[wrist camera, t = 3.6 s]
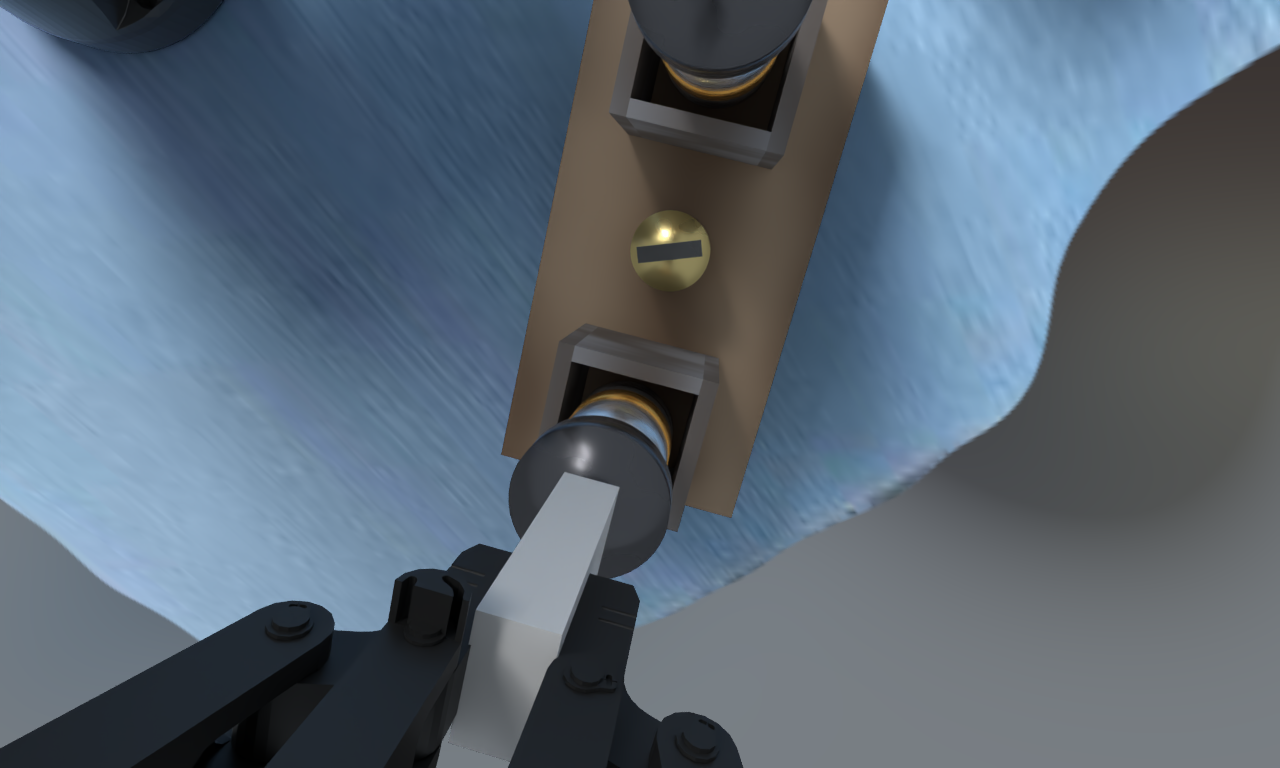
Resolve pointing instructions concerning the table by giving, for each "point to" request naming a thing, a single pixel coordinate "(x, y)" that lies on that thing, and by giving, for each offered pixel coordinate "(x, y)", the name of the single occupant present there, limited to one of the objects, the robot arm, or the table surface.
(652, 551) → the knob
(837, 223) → the table surface
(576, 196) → the mount
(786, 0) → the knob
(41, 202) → the table surface
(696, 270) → the screw
